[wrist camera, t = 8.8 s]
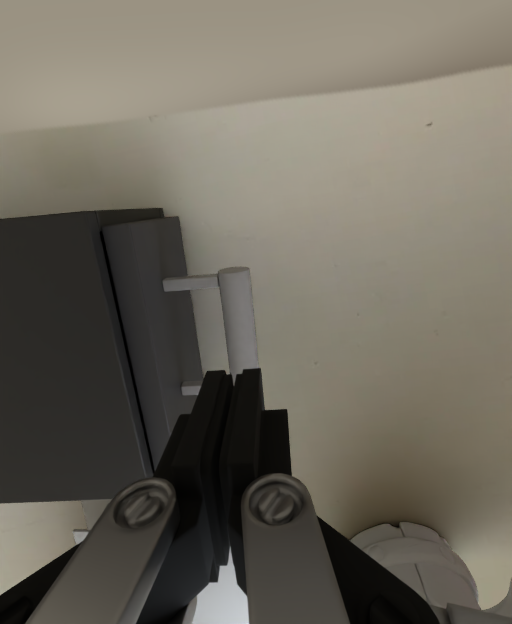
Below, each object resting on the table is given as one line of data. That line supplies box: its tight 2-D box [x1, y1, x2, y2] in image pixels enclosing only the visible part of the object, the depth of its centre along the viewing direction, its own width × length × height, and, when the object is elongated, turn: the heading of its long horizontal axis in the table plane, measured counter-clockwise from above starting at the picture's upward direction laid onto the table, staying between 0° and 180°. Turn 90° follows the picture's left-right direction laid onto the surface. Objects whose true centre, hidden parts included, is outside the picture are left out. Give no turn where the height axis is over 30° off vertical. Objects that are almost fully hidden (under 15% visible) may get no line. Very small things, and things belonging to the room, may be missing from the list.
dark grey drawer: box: [100, 216, 259, 471], centre depth 19 cm, size 19×12×8 cm, turn 95°
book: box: [73, 499, 249, 624], centre depth 30 cm, size 15×23×4 cm, turn 1°
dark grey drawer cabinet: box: [0, 208, 164, 503], centre depth 20 cm, size 16×14×10 cm
